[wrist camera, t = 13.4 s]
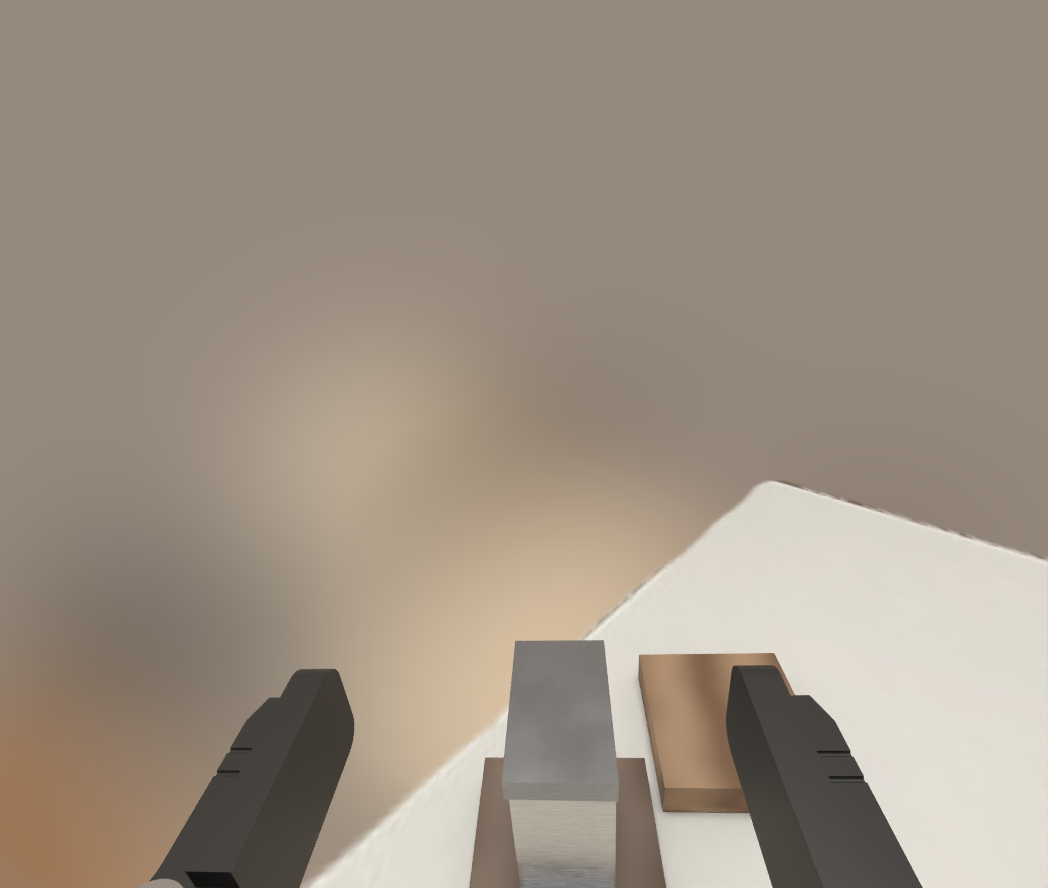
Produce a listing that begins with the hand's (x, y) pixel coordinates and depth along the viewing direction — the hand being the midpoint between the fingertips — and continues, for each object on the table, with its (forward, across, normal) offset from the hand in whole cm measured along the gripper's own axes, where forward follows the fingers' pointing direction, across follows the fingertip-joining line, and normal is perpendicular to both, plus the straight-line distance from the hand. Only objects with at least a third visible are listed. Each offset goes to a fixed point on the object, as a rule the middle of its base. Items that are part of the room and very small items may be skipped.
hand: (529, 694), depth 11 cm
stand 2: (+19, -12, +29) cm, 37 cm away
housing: (+10, 0, +26) cm, 28 cm away
